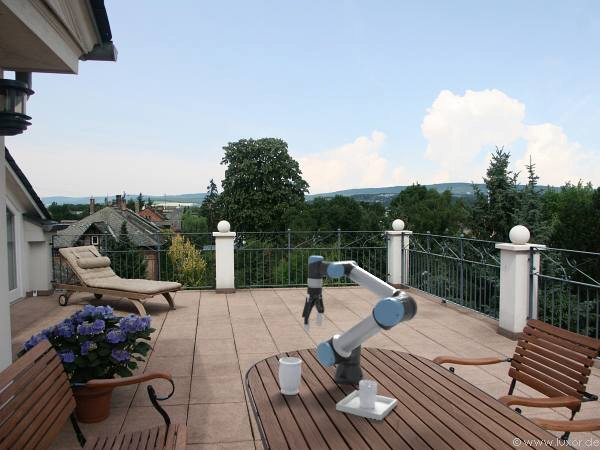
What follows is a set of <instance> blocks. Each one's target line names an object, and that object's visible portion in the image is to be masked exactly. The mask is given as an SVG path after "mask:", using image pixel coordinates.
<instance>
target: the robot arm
mask: <svg viewBox="0 0 600 450" xmlns="http://www.w3.org/2000/svg"><path fill="white" fill-rule="evenodd" d="M307 265H308V266H307V268H308V269H307V279H306V280H307V287H306V289H307V290H306V293H307V295H309V296H308V297H305V303H304V306H303V309H302V314H301V318H304V320H303V321H304V322H303V331H305V332H310V324H311V323H310V322H311V321H310V320H311V318H310V316H311V313H312V310H313V308H314V307H315V309H316V311H317V312H316V324H315V326H317V327H322V325H323V324H322V323H323V314H325V306H324V301H323V287H322V286H323V281H324V280H323V279H324V278H323V277H327V278H332V279H341V278H342V277H346V278H348V279H349V280H351V281H353V282H354V283H355V284H358V285H359V286H360V287H361V288H363V289H365V290H367V291H368V292H369V293H372V294H373V295H375V296H376V297H378V298H380V300H378V302H377V303H376V304H375V306H374V307H373V308H372V310H371V313H370V314H369V315H368V316H367V317H365V318H363V319H362V320H361V321H359V322H358V323H356V324H355V325H354V326H352V327H351V328H350V329H348V330H347V331H345V332H342V333H341V332H340V333H338V334H336V335H334V336H332V337H331V338H330V339H328V340H326V341H322V342H320V343H319V344H318V345H317V348H316V356H317V359H318V361H319V362H320V364H321V365H322V366H324V367H326V368H327V367H328V368H329V367H333V366H336V367H335V370H334V371H333V372H334V373H333V381H335V382H337V383H338V384H342V385H359V382H360V381H362V380H365V379H364V377H365V376H364V372H363V370H362V369H363V368H362V366H361V361H362V360H361V356H362V355H361V353H362V345H363V344H364V343H365V342H367V341H368V340H370V339H371V338H373V337H374V336H376V335H377V334H379V333H380V332H382V331H386V332H387V331H390V330H391V329H393V328H394V327H396V326H398V325H400V324H402V323H404V322H405V323H406V322H409V321H411V320H413V319H414V318H415V316H416V315H417V313H418V304H417V301H416V300H415V298H414V297H413V296H411V295H410V294H409V293H407V292H405V291H404V290H402V289H400V288H399V289H396V288H395V287H393V286H391V285H389V283H386V282H384V281H383V280H381V279H380V278H378V277H376V276H374V275H373V274H371V273H369V272H368V271H366V270H364V269H363V268H361V267H359V265H358V263H357V262H356V260H339V261H325V260H324V257H323V256H322V255H310V256H309V257H308V263H307Z"/></svg>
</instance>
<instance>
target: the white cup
mask: <svg viewBox="0 0 600 450" xmlns="http://www.w3.org/2000/svg"><path fill="white" fill-rule="evenodd" d="M358 391H359V399H360V406H361V407H362V408H366V409H372V408H375V403H376V395H378V393H377V392H378V383H377V381H375V380H370V379H363V380H362V381H360V382H359V384H358Z"/></svg>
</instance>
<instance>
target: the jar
mask: <svg viewBox="0 0 600 450" xmlns="http://www.w3.org/2000/svg"><path fill="white" fill-rule="evenodd" d="M278 363H279V368H278V380H279V386H280V388H281V389H280V393H281V394H283V395H286V396H294V395H297V394H299V388H300V385H301V380H302V365H301V364H302V359H301V358H298V357H294V356H293V357H290V356H289V357H282V358H280V359H279V360H278Z"/></svg>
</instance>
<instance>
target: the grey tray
mask: <svg viewBox="0 0 600 450" xmlns="http://www.w3.org/2000/svg"><path fill="white" fill-rule="evenodd" d="M396 405H397V406H398V399H396V398H392V397H388V396H383V395H378V394H377V395H376V403H375V408H372V409H366V408H362V407H361V406H360V399H359V390H357V389H355V390H354V391H352V392H351V393H349V394H348V395H347V396H345V397H344V398H343V399H341V400H340V401H338V402H337V403H336V404H335V410H336V411H338V412H339V411H340V412H343V413H347V414H352V415H355V416H358V417H362V418H367V419H370V418H372V419H371V420H374V419H376V420H375V421H378V420H380V421H379V422H381V421H383V420H384V418H385V417H386V416H387V415H389V414H390V413H391V412H392V411H393V410H394V409H393V408H394V407H395V406H396ZM397 406H396V407H397ZM396 407H395V408H396ZM392 409H393V410H392ZM391 410H392V411H391ZM390 411H391V412H390ZM389 412H390V413H389Z"/></svg>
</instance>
